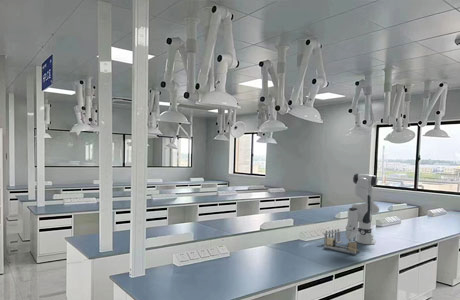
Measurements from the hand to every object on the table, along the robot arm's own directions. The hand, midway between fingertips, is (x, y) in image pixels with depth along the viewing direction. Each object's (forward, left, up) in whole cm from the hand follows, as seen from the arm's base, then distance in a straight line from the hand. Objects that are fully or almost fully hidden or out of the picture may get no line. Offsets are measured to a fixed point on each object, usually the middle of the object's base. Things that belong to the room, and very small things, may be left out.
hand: (352, 242), depth 278 cm
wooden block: (0, 0, -8) cm, 8 cm away
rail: (0, -10, -10) cm, 14 cm away
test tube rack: (-17, -25, -10) cm, 32 cm away
